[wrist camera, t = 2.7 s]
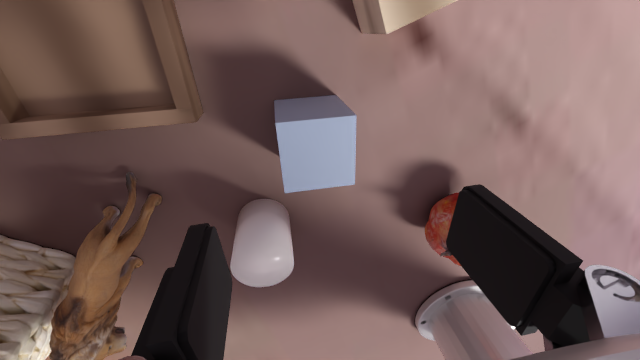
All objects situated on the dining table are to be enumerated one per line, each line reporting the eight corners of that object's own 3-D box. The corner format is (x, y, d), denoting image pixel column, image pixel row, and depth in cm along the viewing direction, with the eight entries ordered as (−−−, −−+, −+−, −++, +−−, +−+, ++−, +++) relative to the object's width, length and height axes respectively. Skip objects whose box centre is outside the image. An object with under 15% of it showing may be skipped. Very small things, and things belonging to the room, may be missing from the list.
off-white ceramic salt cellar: (286, 195, 26) (290, 237, 20) (291, 235, 28) (296, 281, 23) (233, 202, 25) (223, 247, 20) (243, 242, 27) (237, 291, 22)
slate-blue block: (335, 94, 22) (356, 115, 17) (336, 151, 24) (354, 184, 19) (274, 100, 21) (275, 123, 16) (281, 157, 24) (284, 193, 18)
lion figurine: (153, 291, 29) (111, 387, 21) (95, 286, 27) (26, 388, 19) (166, 175, 23) (113, 250, 15) (92, 160, 21) (-10, 236, 13)
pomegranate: (466, 168, 30) (432, 193, 23) (535, 205, 27) (520, 248, 20) (434, 216, 34) (397, 249, 27) (491, 254, 31) (466, 303, 24)
